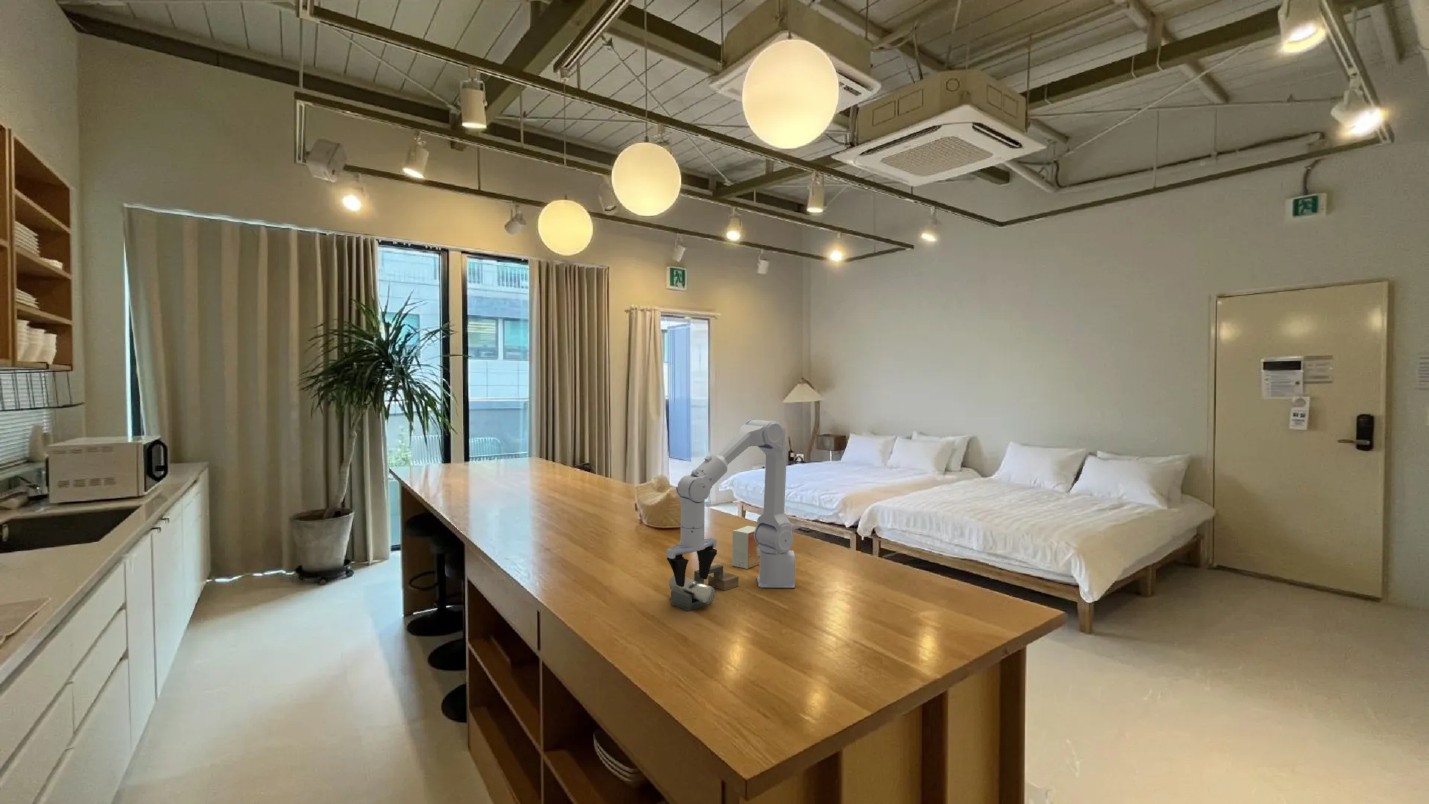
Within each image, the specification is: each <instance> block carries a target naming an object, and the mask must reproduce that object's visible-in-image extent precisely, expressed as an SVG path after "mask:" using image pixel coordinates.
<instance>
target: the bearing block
mask: <svg viewBox="0 0 1429 804" xmlns="http://www.w3.org/2000/svg"><path fill="white" fill-rule="evenodd" d="M693 575H694V576H693V580H695V581H697V582H700V583H703V584H705V579H703V578H700V576H699V569H697V570H694V574H693ZM739 579H740V578H739V575H735V574H733V573H730V572H726V571H724V565H722V564H721V565H720V564H714V565H711V567H710V570H709V574H708V578H707V580H708V583H707V585H709V586H711V587H713V588H715V589H719V590H721V591H723V592H725V591H728V590H730V589H733V588H736V587H739V582H740V580H739Z"/></svg>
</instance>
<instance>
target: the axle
mask: <svg viewBox="0 0 1429 804" xmlns="http://www.w3.org/2000/svg"><path fill="white" fill-rule="evenodd" d="M668 586H669V589H670V590H672V589H677V590H680V591H682V592H685V593H688V594H690V595H692V598H693V599H696V600H698V601H701V602H703V603H706V604H707V605H710V604H712V603H713V601H714V599H715V595H716V592H715V587H713V586H710V585H708V584H706V583H704V584H703V583H700V582H697V581H695V580H694V579H691V578H689V577H687V576H685V584H684V587H680V586H678V585H676V580H675V576H674V574H673V575H672V576H671V577H670V579H669V583H668ZM711 602H712V603H711ZM709 603H710V604H709Z"/></svg>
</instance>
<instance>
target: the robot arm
mask: <svg viewBox="0 0 1429 804" xmlns="http://www.w3.org/2000/svg"><path fill="white" fill-rule="evenodd" d="M750 447H757V448H759V449H760V450H761V451H762V452H763V454H765V466H764V467H765V468H764V470H765V471H764V472H765V473H764V491H763V492H764V494H763V512H762V514H761V515H760V516H758V517H757V519H756V522H757V523H756V526H755V527H756V528H755V531H754V539H755V541H756V543H758V548H760V564H759V569H758V570H759V573H758V574H759V575H758V576H756V581H757V584H758V585H757V586H758V587H759V588H769V589H770V588H774V589H775V588H776V589H777V588H778V589H779V588H780V589H782V588H783V589H786V588H787V589H790V588H791V589H794V588H796V554H795V551H794V550H791V548H792V546H793V543H794V535H793V532H792V522H790V520H789V518H787V516H786V515H785V502H786V501H785V500H786V499H785V498H786V482H787V481H786V480H787V477H786V476H787V462H788V461H787V458H788V457H787V455H788V447H787V443H786V428H785V427H784V426H783V425H782V424H781V423H780V422H778V421H777V420H763V419H757V418H756V419H755V418H749V419H748V420H747V421H746V422H745V423H743V425H741V426H740V428H739V431H738V432H737V434H735V436H733V438H732V439H731V440H730V441H729V443H727V444H726V445H725V447H724V448H723V449H722V450H721V451H720V452H719V453H718V454H717V455H716V454H711V455H707V456H705V457H704V461H702V463H701V464H699V466H698V467H696V469H693V470H692V471H691V473H690V474H688V475H684V476H682V477H681V478H680V479H679V481H678V483H677V486H676V487H675V491H676V494H677V495H678V497H679V504H680V540H679V541H678V544H676V545H673V546H672V547H670V548H669V547H668V548H666V559H667V562H668V564H669V565H670V568H671V569H672V572H673V573H672V574H673V575H674V576H675V580H676V585H678V586H680V587H684V584H685V577H686V571H687V566H688V562H689V559H687V558H685V557H684V555H688V554H692V553H696V556H697V560H698V570H699V576H700V578H703V579H704V581H705V580H708V575H710V574H709V570H710V567H711V566H712V564H713V561H714V560H715V558H716V556H717V554H718V550H717V549H716V548H717V538H712V537H710V538H705V514H706V513H705V512H706V511H705V504H706V503H705V500H706V499H708V498H709V497H710V493H711V489H712V488H713V486H714V485H715V484H716V483H717V482H718V481H720V479H721V478H723V476H724V475H725V474H727V472H728V465H729V464H731V463H732V462H733V461H734V460H735V459H737V457H739V456H740V455H741V454H742V453H743V452H744V451H746V450H747V449H748V448H750Z"/></svg>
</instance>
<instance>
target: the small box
mask: <svg viewBox="0 0 1429 804" xmlns="http://www.w3.org/2000/svg"><path fill="white" fill-rule="evenodd" d="M755 528H756V526H751V525H745V526H743V527H741V528H740V527H739V528H737V529H733V530H732V543H731V544H732V545H731V546H732V549H731V550H732V551H731V553H732V555H731V557H732V558H731V563H732V564H731V566H732V567H736V568H741V569H745V570H748V569H750V568H754V567H756V566H757V565H758V566H759V565H760V548H758V543H756V541H755V539H754V531H755Z"/></svg>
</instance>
